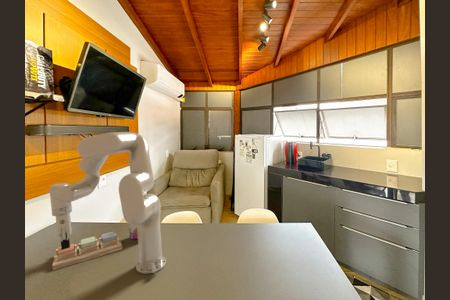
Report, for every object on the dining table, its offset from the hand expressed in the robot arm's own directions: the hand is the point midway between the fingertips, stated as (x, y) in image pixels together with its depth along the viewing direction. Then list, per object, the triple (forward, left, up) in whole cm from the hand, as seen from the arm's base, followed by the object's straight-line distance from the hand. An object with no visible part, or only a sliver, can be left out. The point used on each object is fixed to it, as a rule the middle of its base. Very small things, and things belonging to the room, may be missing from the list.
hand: (65, 247), depth 105 cm
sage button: (0, -9, -2) cm, 9 cm away
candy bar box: (0, -34, -6) cm, 35 cm away
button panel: (0, -9, -6) cm, 11 cm away
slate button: (0, -18, -2) cm, 18 cm away
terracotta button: (0, 0, -3) cm, 3 cm away
